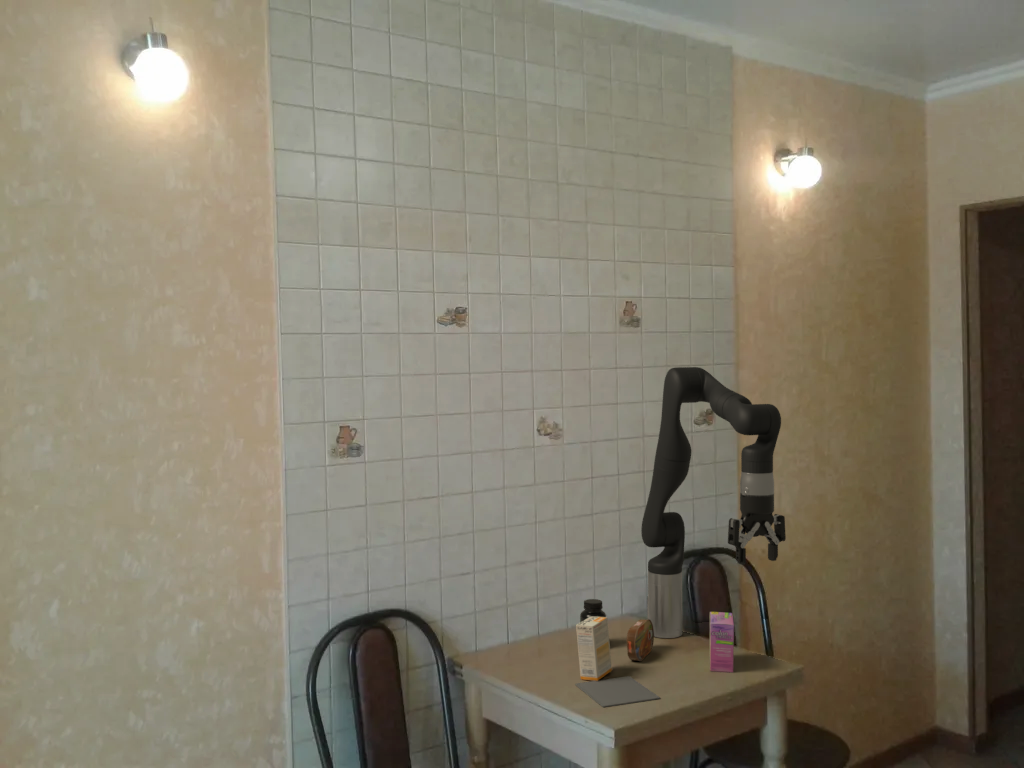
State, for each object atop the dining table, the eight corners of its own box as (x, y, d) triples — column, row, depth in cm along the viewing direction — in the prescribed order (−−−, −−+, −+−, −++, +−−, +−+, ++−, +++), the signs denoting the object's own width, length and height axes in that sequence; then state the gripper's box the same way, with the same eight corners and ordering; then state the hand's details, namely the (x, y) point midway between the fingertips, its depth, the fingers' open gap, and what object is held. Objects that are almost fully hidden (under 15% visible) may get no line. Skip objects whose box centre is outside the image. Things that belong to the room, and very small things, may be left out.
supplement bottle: (574, 646, 246) (574, 601, 245) (592, 641, 250) (592, 596, 250) (594, 652, 240) (593, 606, 240) (611, 646, 245) (611, 601, 245)
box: (734, 673, 224) (734, 624, 224) (709, 671, 225) (709, 623, 225) (732, 659, 234) (732, 612, 234) (709, 658, 235) (709, 611, 235)
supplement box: (594, 669, 227) (590, 615, 227) (612, 671, 225) (608, 616, 225) (579, 679, 220) (574, 624, 220) (597, 681, 218) (593, 625, 218)
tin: (636, 665, 230) (636, 631, 230) (624, 663, 232) (624, 630, 231) (655, 648, 244) (654, 616, 243) (643, 646, 245) (643, 614, 245)
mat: (575, 684, 217) (575, 683, 217) (629, 677, 222) (629, 676, 222) (603, 707, 203) (603, 706, 203) (660, 698, 207) (660, 697, 207)
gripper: (771, 487, 219) (771, 556, 220) (721, 491, 214) (721, 561, 214) (793, 491, 212) (792, 562, 213) (741, 496, 207) (741, 568, 207)
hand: (756, 562), depth 214 cm, fingers open, 8 cm apart
